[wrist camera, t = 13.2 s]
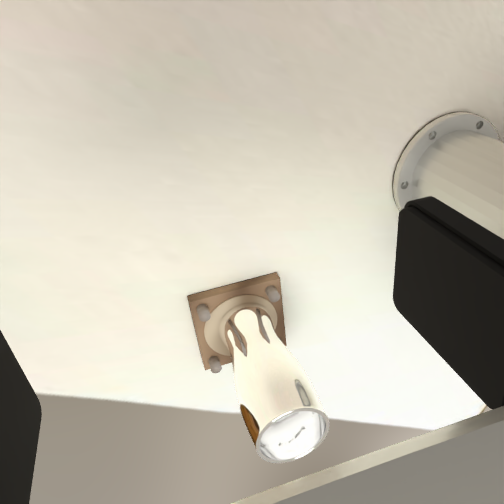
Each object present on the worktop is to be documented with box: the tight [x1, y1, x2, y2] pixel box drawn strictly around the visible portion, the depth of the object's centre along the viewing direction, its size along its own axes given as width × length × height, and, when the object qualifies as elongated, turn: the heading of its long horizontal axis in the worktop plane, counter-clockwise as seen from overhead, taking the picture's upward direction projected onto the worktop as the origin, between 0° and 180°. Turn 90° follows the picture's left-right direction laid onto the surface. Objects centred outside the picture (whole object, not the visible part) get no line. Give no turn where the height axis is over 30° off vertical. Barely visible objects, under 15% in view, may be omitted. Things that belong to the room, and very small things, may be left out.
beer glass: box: [219, 303, 330, 463], centre depth 43 cm, size 7×7×15 cm
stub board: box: [187, 273, 286, 373], centre depth 49 cm, size 10×10×3 cm
